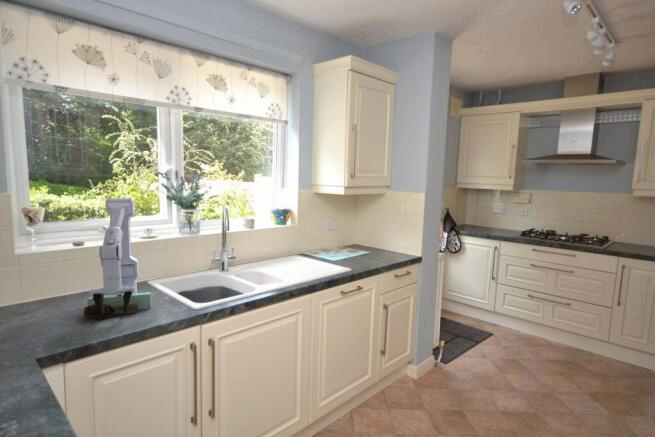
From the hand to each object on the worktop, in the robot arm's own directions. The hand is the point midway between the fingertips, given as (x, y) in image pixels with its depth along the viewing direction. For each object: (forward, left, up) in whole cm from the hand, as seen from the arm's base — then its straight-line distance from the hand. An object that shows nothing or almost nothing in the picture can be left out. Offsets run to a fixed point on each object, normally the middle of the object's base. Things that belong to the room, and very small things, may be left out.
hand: (114, 312), depth 138 cm
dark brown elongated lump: (-5, -2, -3) cm, 6 cm away
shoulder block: (-11, 0, -3) cm, 11 cm away
